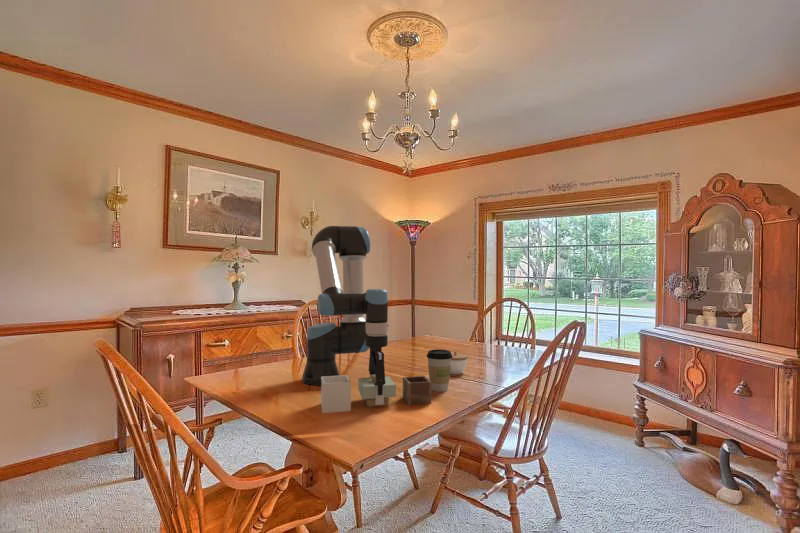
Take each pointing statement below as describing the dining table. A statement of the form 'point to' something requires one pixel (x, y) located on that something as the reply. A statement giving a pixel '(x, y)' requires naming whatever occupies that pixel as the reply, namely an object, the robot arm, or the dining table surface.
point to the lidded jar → (458, 363)
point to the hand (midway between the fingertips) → (376, 398)
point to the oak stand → (372, 402)
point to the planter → (335, 394)
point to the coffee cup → (439, 369)
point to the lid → (368, 387)
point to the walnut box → (416, 390)
